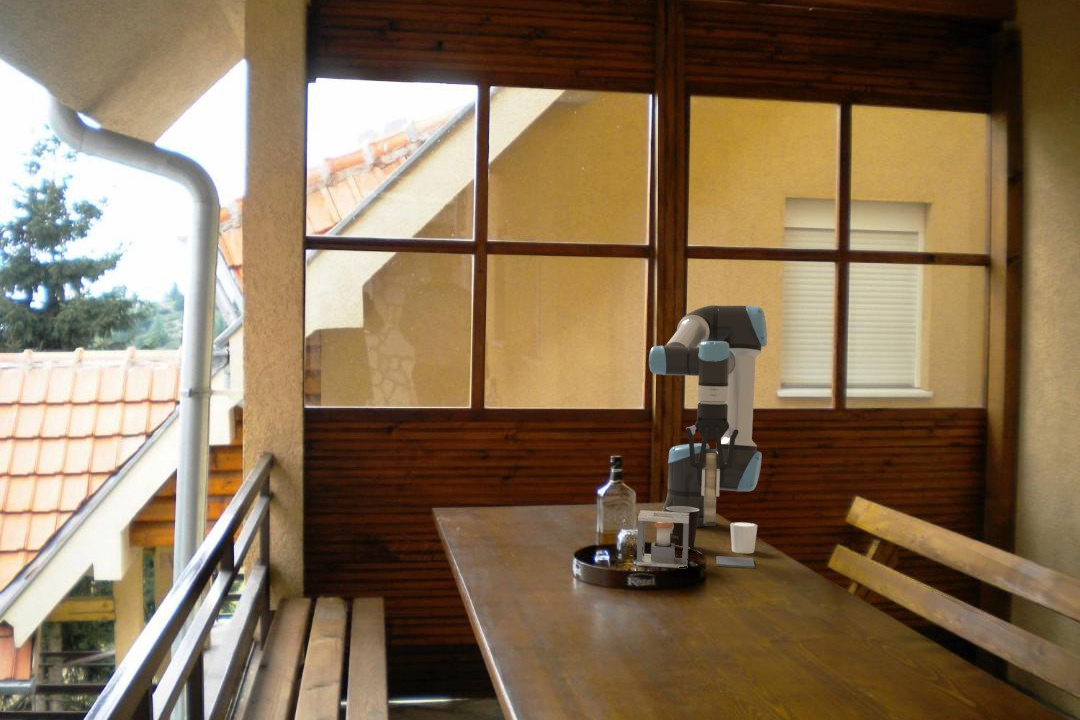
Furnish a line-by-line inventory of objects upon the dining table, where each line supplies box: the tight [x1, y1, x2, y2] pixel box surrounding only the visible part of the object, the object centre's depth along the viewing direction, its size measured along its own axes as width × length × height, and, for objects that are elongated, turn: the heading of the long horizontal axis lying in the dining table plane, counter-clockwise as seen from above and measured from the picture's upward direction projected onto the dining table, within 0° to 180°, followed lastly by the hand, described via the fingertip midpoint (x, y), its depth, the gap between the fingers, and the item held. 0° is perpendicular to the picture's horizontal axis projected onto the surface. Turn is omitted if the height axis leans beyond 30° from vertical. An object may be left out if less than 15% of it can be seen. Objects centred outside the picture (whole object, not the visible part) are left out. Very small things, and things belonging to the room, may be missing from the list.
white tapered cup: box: [730, 521, 758, 554], centre depth 268 cm, size 7×7×7 cm
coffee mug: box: [666, 506, 699, 549], centre depth 272 cm, size 12×9×10 cm
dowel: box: [703, 453, 717, 527], centre depth 261 cm, size 3×3×18 cm
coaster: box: [715, 555, 756, 569], centre depth 253 cm, size 9×9×1 cm
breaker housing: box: [636, 509, 689, 569], centre depth 252 cm, size 10×12×12 cm
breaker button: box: [654, 522, 673, 546], centre depth 252 cm, size 4×4×6 cm
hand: (710, 494), depth 261 cm, fingers closed on dowel, 3 cm apart
